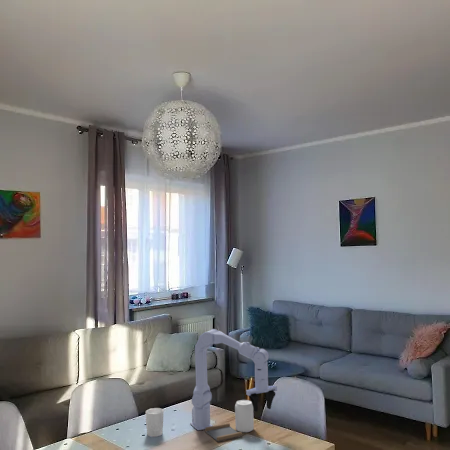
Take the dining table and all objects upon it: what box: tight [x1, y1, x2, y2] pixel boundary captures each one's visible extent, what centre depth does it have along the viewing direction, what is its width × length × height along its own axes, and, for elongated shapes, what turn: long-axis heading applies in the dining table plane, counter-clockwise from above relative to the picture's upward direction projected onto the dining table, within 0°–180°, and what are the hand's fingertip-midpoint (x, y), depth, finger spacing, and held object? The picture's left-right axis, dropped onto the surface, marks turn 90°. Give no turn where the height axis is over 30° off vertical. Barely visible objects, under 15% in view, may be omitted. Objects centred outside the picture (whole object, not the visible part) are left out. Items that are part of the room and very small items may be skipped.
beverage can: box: [234, 399, 255, 433], centre depth 206 cm, size 8×8×12 cm
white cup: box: [145, 407, 165, 438], centre depth 203 cm, size 8×8×10 cm
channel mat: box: [204, 422, 243, 443], centre depth 201 cm, size 13×12×2 cm
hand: (262, 409), depth 201 cm, fingers open, 6 cm apart
